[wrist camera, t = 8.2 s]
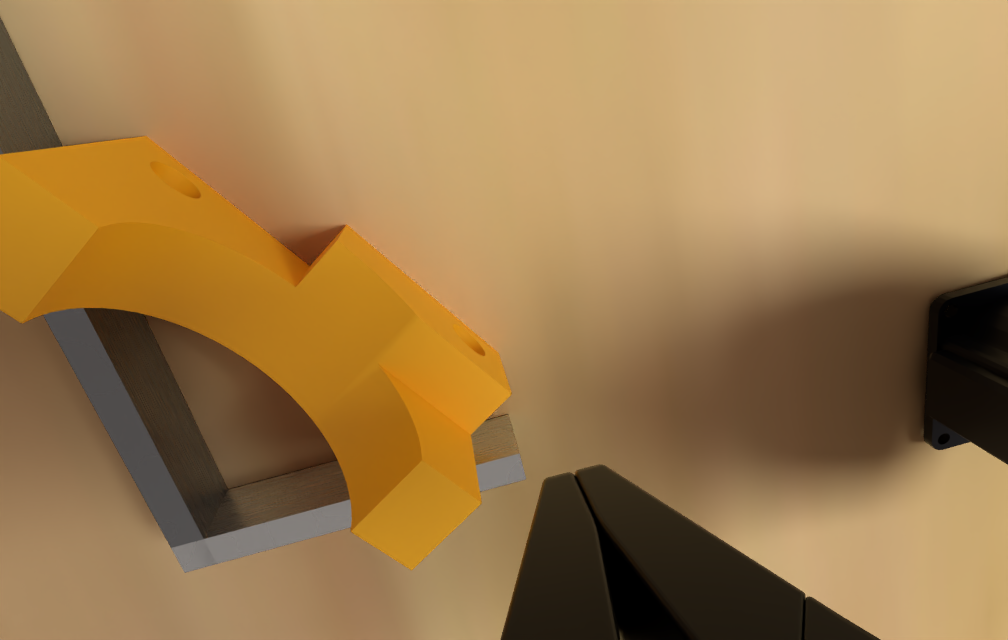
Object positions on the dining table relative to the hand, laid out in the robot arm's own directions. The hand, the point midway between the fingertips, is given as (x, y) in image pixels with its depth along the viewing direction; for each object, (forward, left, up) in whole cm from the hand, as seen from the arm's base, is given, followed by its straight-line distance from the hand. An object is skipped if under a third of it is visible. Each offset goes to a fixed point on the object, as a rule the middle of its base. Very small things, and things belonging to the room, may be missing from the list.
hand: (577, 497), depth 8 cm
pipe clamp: (+5, -1, -12) cm, 13 cm away
